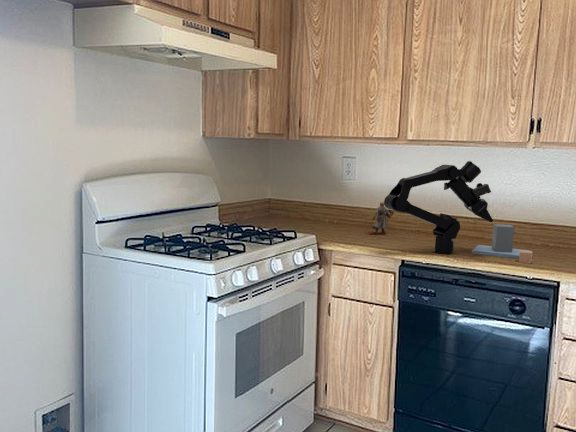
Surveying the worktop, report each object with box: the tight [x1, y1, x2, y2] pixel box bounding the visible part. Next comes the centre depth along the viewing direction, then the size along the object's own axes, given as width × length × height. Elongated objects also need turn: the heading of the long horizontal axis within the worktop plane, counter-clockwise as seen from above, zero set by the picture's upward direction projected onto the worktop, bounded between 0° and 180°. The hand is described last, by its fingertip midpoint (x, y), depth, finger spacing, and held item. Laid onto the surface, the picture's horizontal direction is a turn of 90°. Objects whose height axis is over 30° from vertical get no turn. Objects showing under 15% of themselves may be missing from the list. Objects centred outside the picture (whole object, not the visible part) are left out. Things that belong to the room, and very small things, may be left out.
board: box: [471, 244, 531, 260], centre depth 222 cm, size 20×14×1 cm
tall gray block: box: [491, 223, 515, 252], centre depth 221 cm, size 6×6×10 cm
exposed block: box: [518, 249, 534, 265], centre depth 206 cm, size 4×4×4 cm
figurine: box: [370, 201, 395, 235], centre depth 260 cm, size 14×7×15 cm, turn 111°
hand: (489, 219), depth 218 cm, fingers open, 9 cm apart
